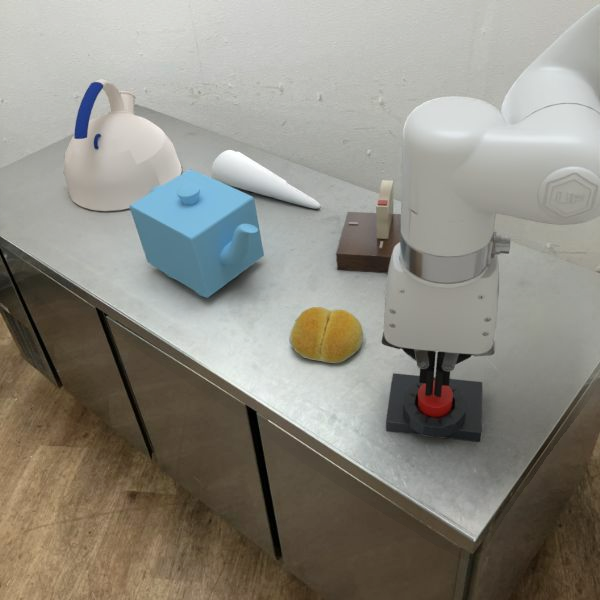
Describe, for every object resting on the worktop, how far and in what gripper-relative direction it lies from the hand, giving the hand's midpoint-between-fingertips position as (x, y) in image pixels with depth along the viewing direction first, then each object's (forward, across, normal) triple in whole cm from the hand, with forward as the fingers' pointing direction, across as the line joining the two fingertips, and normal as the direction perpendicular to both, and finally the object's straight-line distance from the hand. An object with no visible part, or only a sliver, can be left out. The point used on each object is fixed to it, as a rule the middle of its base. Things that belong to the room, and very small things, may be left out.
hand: (433, 385), depth 67 cm
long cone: (+7, +30, -42) cm, 52 cm away
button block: (+6, 0, -2) cm, 6 cm away
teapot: (+7, +32, -22) cm, 40 cm away
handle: (+3, +9, -32) cm, 33 cm away
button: (+3, 0, 0) cm, 3 cm away
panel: (+6, +9, -31) cm, 32 cm away
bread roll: (+6, +14, -10) cm, 18 cm away
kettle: (+7, +57, -46) cm, 73 cm away
